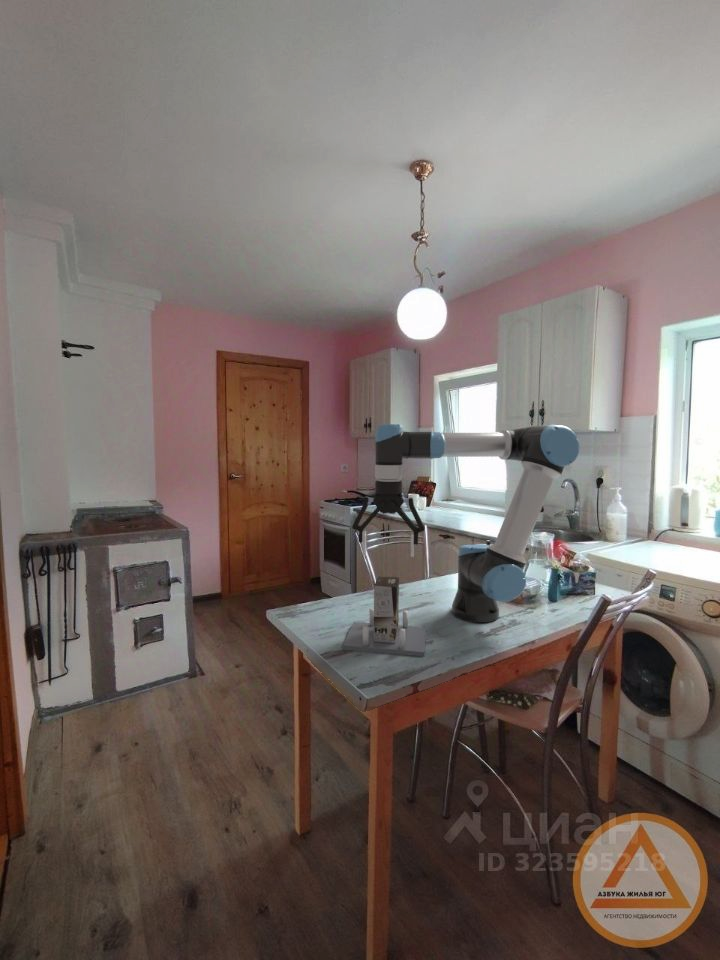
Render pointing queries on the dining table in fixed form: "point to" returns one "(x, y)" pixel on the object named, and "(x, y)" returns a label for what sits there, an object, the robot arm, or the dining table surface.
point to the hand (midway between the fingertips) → (388, 554)
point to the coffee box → (386, 609)
